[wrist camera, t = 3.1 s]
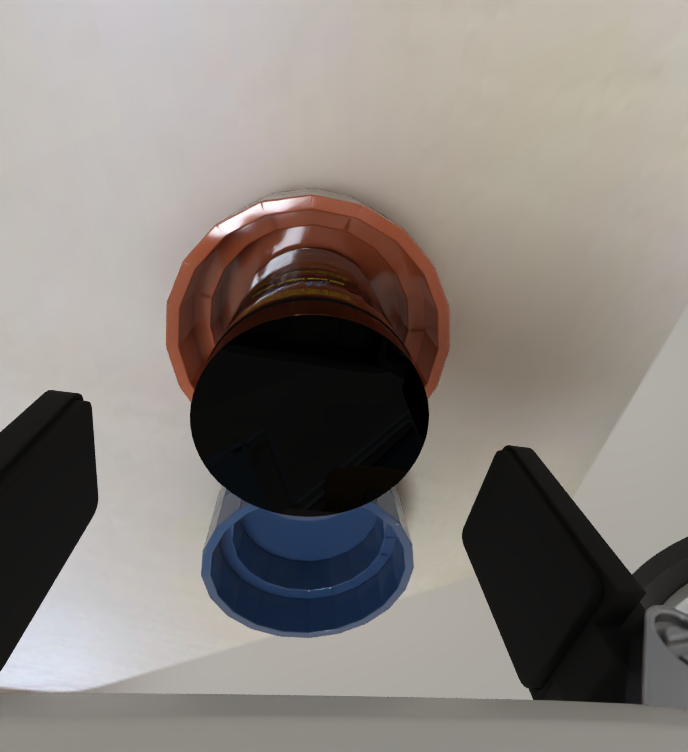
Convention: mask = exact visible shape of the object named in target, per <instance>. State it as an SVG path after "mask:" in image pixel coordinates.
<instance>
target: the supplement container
mask: <svg viewBox="0 0 688 752" xmlns="http://www.w3.org/2000/svg"><path fill="white" fill-rule="evenodd" d="M428 422H429V407H428V400H427V394H426V391H425V388H424V385H423V382H422V380H421V378H420V375H419V373H418V371H417V369H416V368H415V366H414V363H413V361H412V358H411V356H410V354H409V352H408V350H407V348H406V347H405V345H404V343H403V342H402V340H401V339H400V338H399V336H398V335H397V333H396V331H395V329H394V327H393V325H392V323H391V321H390V320H389V318H388V316H387V314H386V312H385V310H384V308H383V306H382V304H381V302H380V300H379V298H378V296H377V294H376V292H375V290H374V288H373V287H372V285H371V283H370V281H369V280H368V278H367V277H366V275H365V274H364V273H363V272H362V271H361V270H360V268H359V267H357V266H356V265H355V264H354V263H353V262H351V261H350V260H348V259H347V258H345V257H343V256H341V255H339V254H337V253H335V252H331V251H328V250H324V249H317V248H302V249H296V250H291V251H288V252H285V253H282V254H280V255H278V256H276V257H274V258H273V259H271V260H270V261H268V262H267V263H266V264H265V265H263V266H262V267H261V268H260V269H259V270H258V272H257V273H256V274H255V275H254V277H253V278H252V280H251V281H250V283H249V285H248V287H247V289H246V291H245V293H244V295H243V297H242V299H241V301H240V303H239V305H238V306H237V308H236V310H235V312H234V314H233V316H232V318H231V320H230V322H229V324H228V326H227V328H226V330H225V332H224V334H223V335H222V337H221V338H220V339H219V340H218V342H217V344H216V345H215V347H214V348H213V350H212V352H211V354H210V356H209V358H208V360H207V363H206V366H205V368H204V370H203V372H202V374H201V376H200V378H199V380H198V382H197V384H196V387H195V390H194V393H193V397H192V402H191V410H190V424H191V431H192V437H193V440H194V444H195V447H196V449H197V451H198V454H199V456H200V458H201V460H202V461H203V463H204V465H205V466H206V468H207V469H208V470H209V472H210V473H211V474H212V475H213V477H214V478H215V479H216V480H217V481H218V482H219V483H220V484H221V485H222V486H224V487H225V488H226V489H227V490H228V491H230V492H231V493H232V494H234V495H235V496H237V497H239V498H240V499H242V500H243V501H245V502H247V503H249V504H251V505H254V506H256V507H259V508H261V509H264V510H267V511H270V512H274V513H278V514H283V515H290V516H301V517H317V516H327V515H333V514H339V513H342V512H346V511H350V510H353V509H355V508H358V507H361V506H363V505H365V504H368V503H370V502H371V501H373V500H375V499H377V498H379V497H380V496H382V495H383V494H385V493H386V492H388V491H389V490H390V489H391V488H393V487H394V486H395V485H396V484H397V483H398V482H399V481H400V480H401V479H402V478H403V477H404V476H405V475H406V474H407V472H408V471H409V470H410V469H411V467H412V466H413V464H414V463H415V461H416V459H417V458H418V456H419V454H420V452H421V449H422V447H423V445H424V442H425V438H426V435H427V430H428Z"/></svg>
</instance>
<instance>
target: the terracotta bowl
mask: <svg viewBox="0 0 688 752" xmlns="http://www.w3.org/2000/svg"><path fill="white" fill-rule="evenodd" d="M302 248H317V249H324V250H328V251H331V252H335V253H337V254H339V255H341V256H343V257H345V258H347V259H348V260H350V261H351V262H353V263H354V264H355V265H356V266H357V267H359V268H360V270H361V271H362V272H363V273H364V274H365V275H366V277H367V278H368V280H369V281H370V283H371V285H372V287H373V288H374V290H375V292H376V294H377V296H378V298H379V300H380V302H381V304H382V306H383V308H384V310H385V312H386V314H387V316H388V318H389V320H390V321H391V323H392V325H393V327H394V329H395V331H396V333H397V335H398V336H399V338H400V339H401V340H402V342H403V343H404V345H405V347H406V348H407V350H408V352H409V354H410V356H411V358H412V361H413V363H414V366H415V368H416V369H417V371H418V373H419V375H420V378H421V380H422V382H423V385H424V388H425V391H426V394H427V400H428V398H429V397H430V396H431V394H432V393H433V391H434V390H435V389H436V387H437V385H438V382H439V379H440V376H441V373H442V370H443V367H444V364H445V361H446V358H447V354H448V351H449V305H448V303H447V300H446V297H445V294H444V292H443V289H442V286H441V283H440V280H439V278H438V275H437V272H436V269H435V267H434V265H433V264H432V263H431V261H430V260H429V259H428V258H427V257H426V255H425V254H424V253H423V252H422V250H421V249H420V248H419V247H418V246H417V244H416V243H415V242H414V241H413V239H412V238H411V237H410V236H409V235H408V233H407V232H406V231H405V230H404V229H402V228H401V227H399V226H398V225H397V224H395V223H394V222H392V221H391V220H389V219H388V218H386V217H385V216H383V215H381V214H380V213H378V212H377V211H375V210H373V209H372V208H370V207H368V206H367V205H365V204H363V203H362V202H360V201H358V200H357V199H355V198H353V197H350V196H347V195H342V194H337V193H333V192H328V191H323V190H318V189H311V188H309V189H301V190H294V191H286V192H279V193H272V194H271V195H267V196H265V197H264V198H262V199H260V200H258V201H256V202H254V203H252V204H250V205H248V206H246V207H244V208H242V209H241V210H239V211H237V212H235V213H234V214H232V215H230V216H229V217H227V218H225V219H224V220H222V221H221V222H219V223H217V224H216V225H215V226H214V227H213V228H212V229H211V230H210V231H209V232H208V234H207V235H206V236H205V237H204V238H203V239H202V240H201V241H200V242H199V243H198V245H197V246H196V247H195V248H194V249H193V250H192V251H191V252H190V253H189V255H188V256H187V257H186V258H185V259H184V261H183V262H182V265H181V267H180V270H179V273H178V275H177V278H176V280H175V283H174V285H173V288H172V290H171V293H170V295H169V298H168V301H167V314H166V346H167V347H166V348H167V351H168V354H169V357H170V360H171V363H172V366H173V369H174V372H175V375H176V378H177V381H178V384H179V386H180V388H181V389H182V391H183V392H184V393H185V395H186V396H187V397H188V399H189V400H190V401H191V402H192V397H193V393H194V390H195V387H196V384H197V382H198V380H199V378H200V376H201V374H202V372H203V370H204V368H205V366H206V363H207V360H208V358H209V356H210V354H211V352H212V350H213V348H214V347H215V345H216V344H217V342H218V340H219V339H220V338H221V337H222V335H223V334H224V332H225V330H226V328H227V326H228V324H229V322H230V320H231V318H232V316H233V314H234V312H235V310H236V308H237V306H238V305H239V303H240V301H241V299H242V297H243V295H244V293H245V291H246V289H247V287H248V285H249V283H250V281H251V280H252V278H253V277H254V275H255V274H256V273H257V272H258V270H259V269H260V268H261V267H262V266H263V265H265V264H266V263H267V262H268V261H270V260H271V259H273V258H274V257H276V256H278V255H280V254H282V253H285V252H288V251H291V250H296V249H302Z"/></svg>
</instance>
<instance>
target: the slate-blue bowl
mask: <svg viewBox="0 0 688 752" xmlns="http://www.w3.org/2000/svg"><path fill="white" fill-rule="evenodd" d="M413 568H414V564H413V549H412V542H411V539H410V535H409V531H408V528H407V524H406V520H405V516H404V513H403V509H402V505H401V502H400V498H399V494H398V491H397V488H396V486H394V487H393V488H391V489H390V490H389V491H388V492H386V493H385V494H383V495H382V496H380V497H379V498H377V499H375V500H373V501H371V502H370V503H368V504H365V505H363V506H361V507H358V508H355V509H353V510H350V511H346V512H342V513H339V514H333V515H327V516H317V517H301V516H290V515H283V514H278V513H274V512H270V511H267V510H264V509H261V508H259V507H256V506H254V505H251V504H249V503H247V502H245V501H243V500H242V499H240V498H239V497H237V496H235V495H234V494H232V493H231V492H230V491H228V490H227V489H226V488H225V487H224V486H222V488H221V490H220V492H219V495H218V499H217V502H216V506H215V509H214V513H213V517H212V520H211V524H210V527H209V531H208V535H207V538H206V542H205V545H204V549H203V555H202V569H201V576H202V579H203V581H204V584H205V586H206V589H207V591H208V594H209V596H210V598H211V599H212V600H213V601H214V602H215V603H216V604H217V605H218V606H219V607H220V608H221V609H222V611H223V612H224V613H225V614H226V615H228V616H229V617H231V618H233V619H234V620H236V621H238V622H240V623H242V624H243V625H245V626H247V627H249V628H252V629H254V630H258V631H261V632H265V633H269V634H273V635H276V636H283V637H303V638H309V637H310V638H312V637H318V636H325V635H332V634H338V633H342V632H344V631H347V630H350V629H352V628H356V627H358V626H361V625H364V624H366V623H368V622H369V621H371V620H372V619H374V618H376V617H377V616H379V615H380V614H382V613H383V612H385V611H386V610H388V609H389V608H390V607H391V606H392V605H393V603H394V602H395V601H396V600H397V599H398V598H399V597H400V596H401V594H402V593H403V592H404V591H405V589H406V587H407V584H408V581H409V579H410V576H411V574H412V571H413Z"/></svg>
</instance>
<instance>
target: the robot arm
mask: <svg viewBox="0 0 688 752" xmlns="http://www.w3.org/2000/svg"><path fill="white" fill-rule="evenodd" d="M97 504H98V487H97V473H96V459H95V445H94V431H93V417H92V407H91V404H90V402H88V401H84V400H83V397H82V395H81V394H79V393H71V392H62V391H54V390H48V391H47V392H45V393H44V394H43V395H42V396H40V397H39V398H38V399H37V400H36V401H35V402H34V403H33V404H31V405H30V406H29V407H28V408H27V409H26V410H25V411H24V412H22V413H21V414H20V415H19V416H18V417H17V418H16V419H15V420H14V421H12V422H11V423H10V424H9V425H8V426H7V427H6V428H5V429H3V430H2V431H1V432H0V671H1V670H2V668H3V667H4V665H5V664H6V662H7V660H8V659H9V657H10V655H11V654H12V652H13V650H14V648H15V647H16V645H17V643H18V642H19V640H20V638H21V637H22V635H23V633H24V632H25V630H26V628H27V627H28V625H29V623H30V622H31V620H32V618H33V617H34V615H35V613H36V611H37V610H38V608H39V606H40V605H41V603H42V601H43V600H44V598H45V596H46V595H47V593H48V591H49V590H50V588H51V586H52V585H53V583H54V581H55V580H56V578H57V576H58V574H59V573H60V571H61V569H62V568H63V566H64V564H65V563H66V561H67V559H68V558H69V556H70V554H71V553H72V551H73V549H74V548H75V546H76V544H77V542H78V541H79V539H80V537H81V536H82V534H83V532H84V531H85V529H86V527H87V526H88V524H89V522H90V521H91V519H92V517H93V515H94V513H95V511H96V508H97ZM462 540H463V544H464V547H465V549H466V552H467V554H468V557H469V559H470V561H471V564H472V566H473V569H474V571H475V574H476V576H477V578H478V581H479V583H480V585H481V588H482V590H483V593H484V595H485V598H486V600H487V602H488V605H489V607H490V610H491V612H492V615H493V617H494V619H495V622H496V624H497V627H498V629H499V631H500V634H501V636H502V639H503V641H504V644H505V646H506V648H507V651H508V653H509V656H510V658H511V660H512V663H513V665H514V667H515V670H516V673H517V675H518V677H519V679H520V681H521V683H522V684H523V685H524V686H525V687H526V688H529V691H530V693H531V695H532V698H533V700H510V699H509V700H508V699H463V698H419V697H415V698H414V697H363V696H362V697H361V696H299V695H235V694H234V695H233V694H230V695H229V694H141V693H140V694H139V693H0V752H688V583H687V584H685V585H684V586H682V587H681V588H679V589H678V590H677V591H676V592H675V593H674V594H672V595H671V596H670V597H669V598H668V599H667V600H666V601H665V603H664V604H663V605H655V606H652V607H650V608H648V609H647V610H645V609H644V608H643V606H642V605H641V604H640V601H641V599H642V598H643V597H644V595H645V594H646V592H645V591H644V590H643V588H642V587H641V586H640V585H639V583H638V582H637V581H636V580H635V578H634V577H633V576H632V575H631V573H630V572H629V571H628V569H627V568H626V567H625V566H624V564H623V563H622V562H621V561H620V559H619V558H618V557H617V556H616V555H615V553H614V552H613V550H612V549H611V548H610V547H609V546H608V544H607V543H606V542H605V540H604V539H603V538H602V537H601V535H600V534H599V533H598V532H597V530H596V529H595V528H594V526H593V525H592V524H591V523H590V521H589V520H588V519H587V518H586V516H585V515H584V514H583V512H582V511H581V510H580V509H579V508H578V506H577V505H576V504H575V502H574V501H573V500H572V499H571V497H570V496H569V495H568V494H567V492H566V491H565V490H564V488H563V487H562V486H561V485H560V483H559V482H558V481H557V480H556V478H555V477H554V476H553V475H552V473H551V472H550V471H549V469H548V468H547V467H546V466H545V464H544V463H543V462H542V461H541V459H540V458H539V457H538V456H537V454H536V453H535V452H534V451H533V450H532V449H531V448H526V447H518V446H510V445H508V446H505V447H504V448H503V449H502V450H500V451H498V452H496V454H495V456H494V458H493V461H492V463H491V465H490V468H489V470H488V472H487V475H486V477H485V479H484V481H483V484H482V486H481V488H480V491H479V493H478V495H477V498H476V500H475V502H474V505H473V507H472V509H471V512H470V514H469V516H468V519H467V521H466V523H465V526H464V528H463V532H462Z"/></svg>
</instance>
